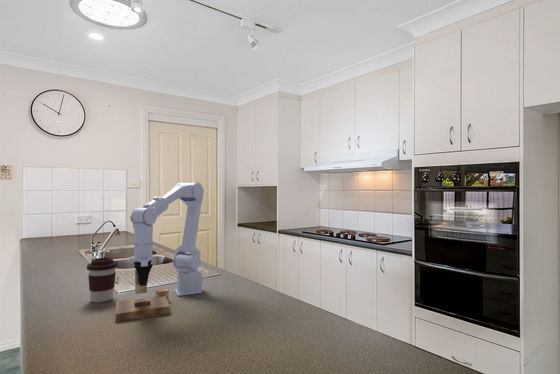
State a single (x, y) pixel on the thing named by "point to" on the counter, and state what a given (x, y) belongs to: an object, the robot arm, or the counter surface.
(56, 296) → the counter surface
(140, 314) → the hole board
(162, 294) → the tan cubic piece
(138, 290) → the square peg
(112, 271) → the coffee cup
